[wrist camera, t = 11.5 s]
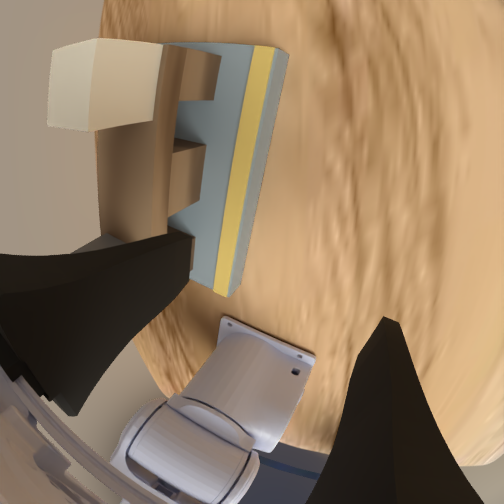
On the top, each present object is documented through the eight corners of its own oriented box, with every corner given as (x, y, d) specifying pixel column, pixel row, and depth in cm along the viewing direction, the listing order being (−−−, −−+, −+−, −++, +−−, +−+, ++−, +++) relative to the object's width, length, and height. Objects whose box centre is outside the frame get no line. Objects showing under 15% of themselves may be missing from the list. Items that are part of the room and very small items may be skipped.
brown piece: (221, 56, 14) (168, 44, 10) (192, 269, 23) (153, 303, 19) (161, 54, 16) (105, 50, 12) (146, 246, 24) (105, 274, 20)
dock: (289, 54, 15) (277, 47, 13) (240, 284, 24) (228, 298, 23) (147, 47, 18) (129, 45, 16) (135, 235, 27) (120, 244, 26)
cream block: (163, 44, 11) (97, 37, 7) (152, 120, 13) (87, 132, 9) (112, 49, 12) (52, 50, 8) (105, 114, 14) (47, 125, 11)
